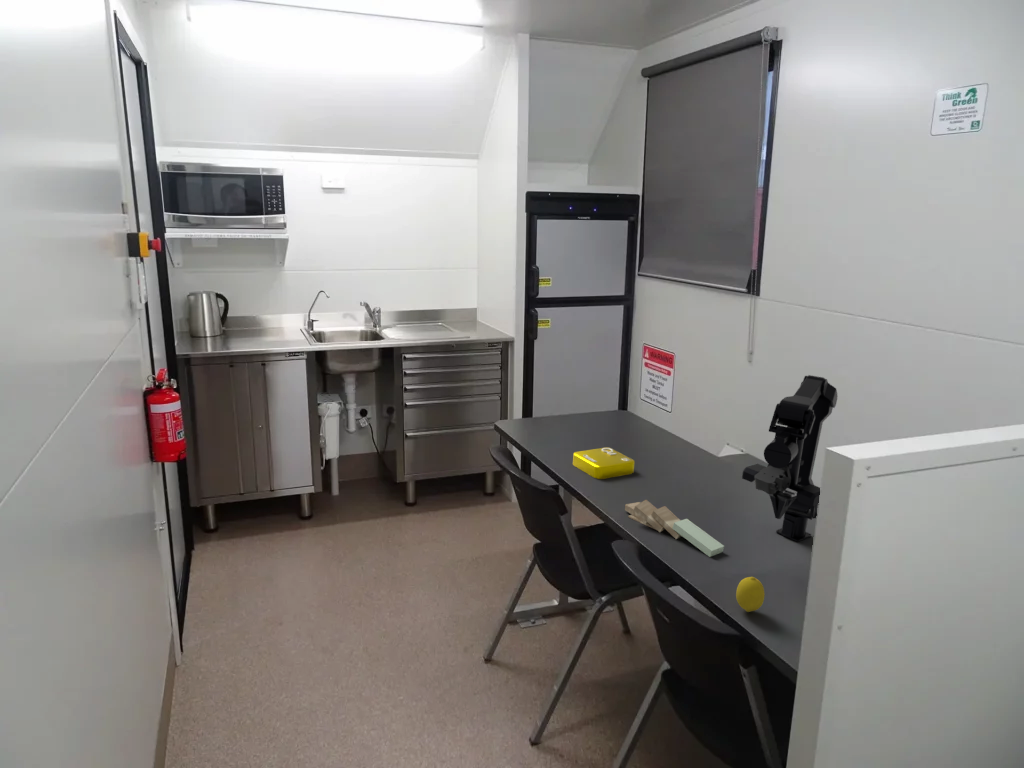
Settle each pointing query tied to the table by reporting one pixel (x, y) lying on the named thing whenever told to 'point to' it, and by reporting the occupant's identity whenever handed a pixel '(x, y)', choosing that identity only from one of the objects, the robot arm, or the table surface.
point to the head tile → (698, 537)
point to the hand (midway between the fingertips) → (778, 518)
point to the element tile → (603, 463)
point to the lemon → (750, 594)
